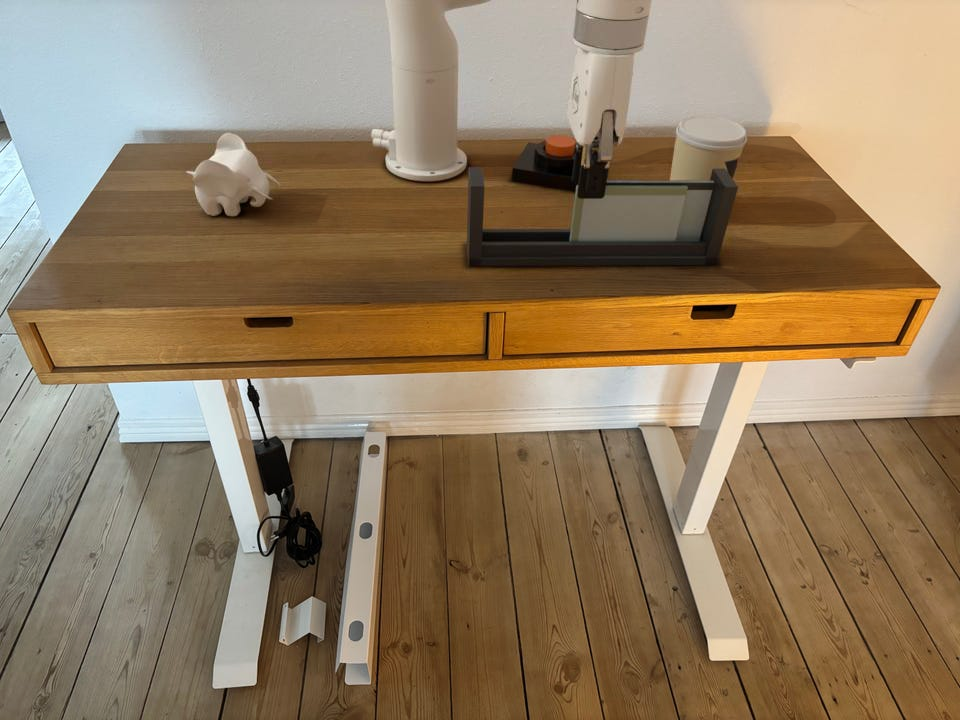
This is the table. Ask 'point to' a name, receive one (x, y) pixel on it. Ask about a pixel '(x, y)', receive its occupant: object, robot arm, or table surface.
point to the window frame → (551, 247)
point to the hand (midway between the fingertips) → (587, 188)
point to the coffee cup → (706, 147)
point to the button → (560, 145)
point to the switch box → (544, 168)
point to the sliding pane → (628, 214)
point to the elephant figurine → (230, 178)
